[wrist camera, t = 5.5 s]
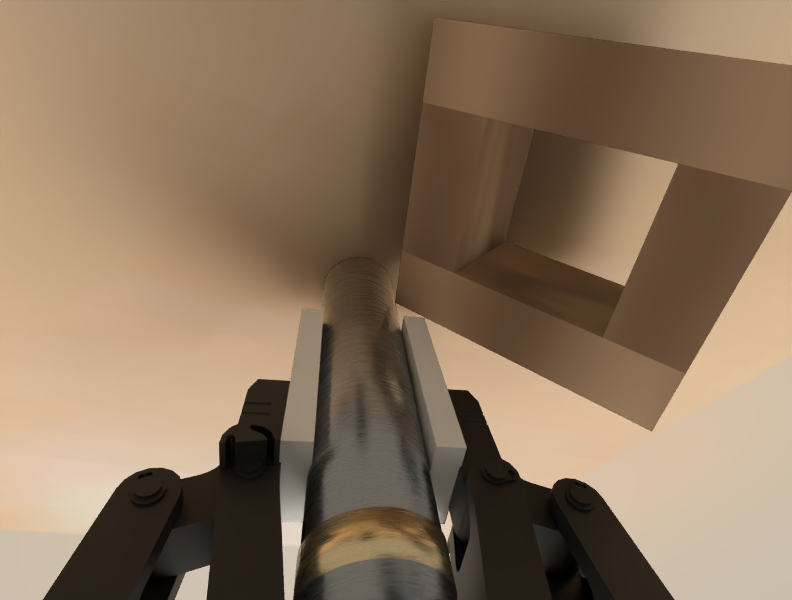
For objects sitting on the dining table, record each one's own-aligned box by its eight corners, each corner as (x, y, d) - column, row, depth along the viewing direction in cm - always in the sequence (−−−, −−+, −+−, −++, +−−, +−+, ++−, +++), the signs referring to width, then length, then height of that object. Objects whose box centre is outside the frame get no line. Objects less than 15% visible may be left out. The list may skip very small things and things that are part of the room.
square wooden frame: (839, 73, 11) (860, 74, 8) (674, 367, 16) (651, 431, 13) (497, 26, 16) (434, 17, 13) (448, 269, 21) (394, 302, 18)
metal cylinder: (397, 261, 20) (481, 584, 8) (386, 322, 21) (444, 678, 9) (326, 252, 20) (294, 586, 7) (319, 315, 21) (284, 684, 9)
